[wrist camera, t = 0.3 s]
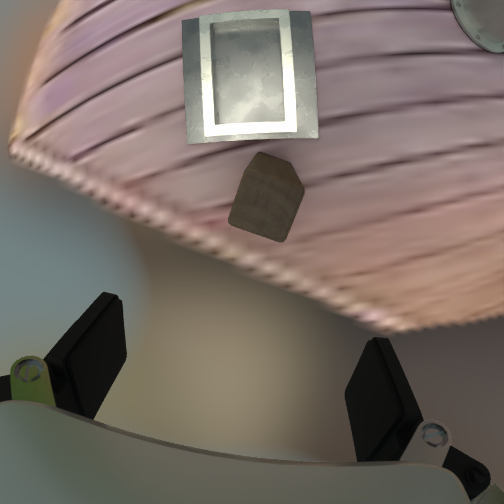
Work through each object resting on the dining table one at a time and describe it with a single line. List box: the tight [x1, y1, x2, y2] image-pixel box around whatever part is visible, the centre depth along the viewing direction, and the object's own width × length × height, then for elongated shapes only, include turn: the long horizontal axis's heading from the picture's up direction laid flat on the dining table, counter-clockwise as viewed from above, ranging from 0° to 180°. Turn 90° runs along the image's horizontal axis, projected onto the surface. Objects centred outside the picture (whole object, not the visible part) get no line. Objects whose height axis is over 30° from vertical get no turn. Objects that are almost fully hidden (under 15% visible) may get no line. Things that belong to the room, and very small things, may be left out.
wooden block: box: [228, 152, 305, 242], centre depth 31 cm, size 9×4×18 cm, turn 161°
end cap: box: [182, 9, 318, 144], centre depth 32 cm, size 16×17×4 cm
